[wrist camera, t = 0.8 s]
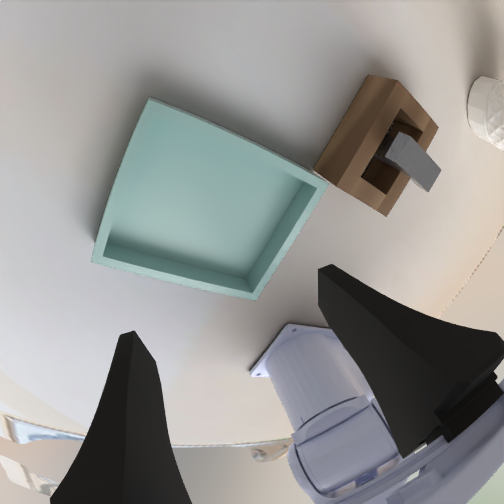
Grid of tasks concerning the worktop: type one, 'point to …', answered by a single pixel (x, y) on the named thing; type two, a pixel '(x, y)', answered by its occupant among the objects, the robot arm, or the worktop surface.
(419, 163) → the t post
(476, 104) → the white cup
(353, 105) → the frame ring
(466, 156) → the worktop surface
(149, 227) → the tray
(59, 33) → the worktop surface
